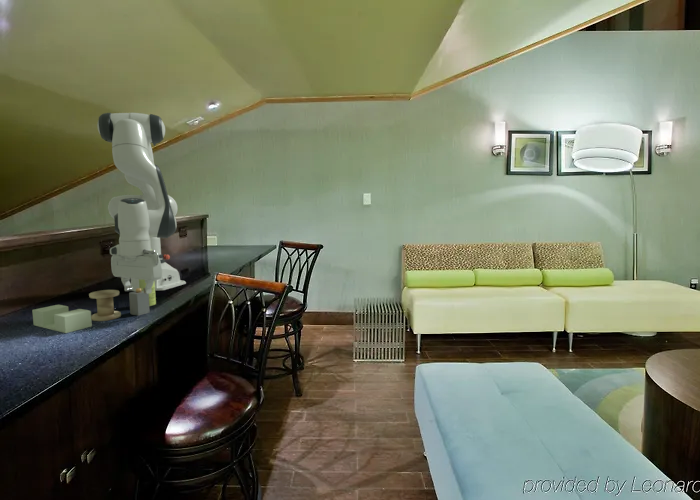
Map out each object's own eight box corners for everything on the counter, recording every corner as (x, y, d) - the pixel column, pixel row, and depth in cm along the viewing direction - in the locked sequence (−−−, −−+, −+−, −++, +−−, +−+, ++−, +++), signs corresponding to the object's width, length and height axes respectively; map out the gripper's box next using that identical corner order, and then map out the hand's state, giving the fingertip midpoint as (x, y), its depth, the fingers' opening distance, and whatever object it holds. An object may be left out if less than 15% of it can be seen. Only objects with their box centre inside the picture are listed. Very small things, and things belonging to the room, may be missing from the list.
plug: (141, 311, 133) (140, 286, 132) (149, 312, 131) (148, 288, 130) (130, 314, 129) (128, 289, 128) (138, 315, 128) (136, 290, 127)
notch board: (59, 319, 124) (58, 304, 123) (91, 326, 116) (90, 310, 116) (33, 325, 117) (32, 309, 117) (65, 333, 110) (64, 316, 110)
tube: (157, 305, 139) (154, 250, 137) (141, 308, 137) (137, 251, 134) (154, 302, 144) (151, 248, 142) (139, 304, 141) (135, 249, 139)
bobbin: (110, 312, 131) (109, 288, 130) (126, 315, 127) (124, 291, 126) (85, 319, 124) (83, 293, 123) (101, 322, 120) (99, 296, 119)
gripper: (166, 249, 126) (168, 293, 127) (124, 247, 135) (127, 287, 136) (148, 251, 120) (150, 296, 121) (106, 249, 129) (108, 291, 131)
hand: (137, 292), depth 129 cm, fingers open, 8 cm apart
